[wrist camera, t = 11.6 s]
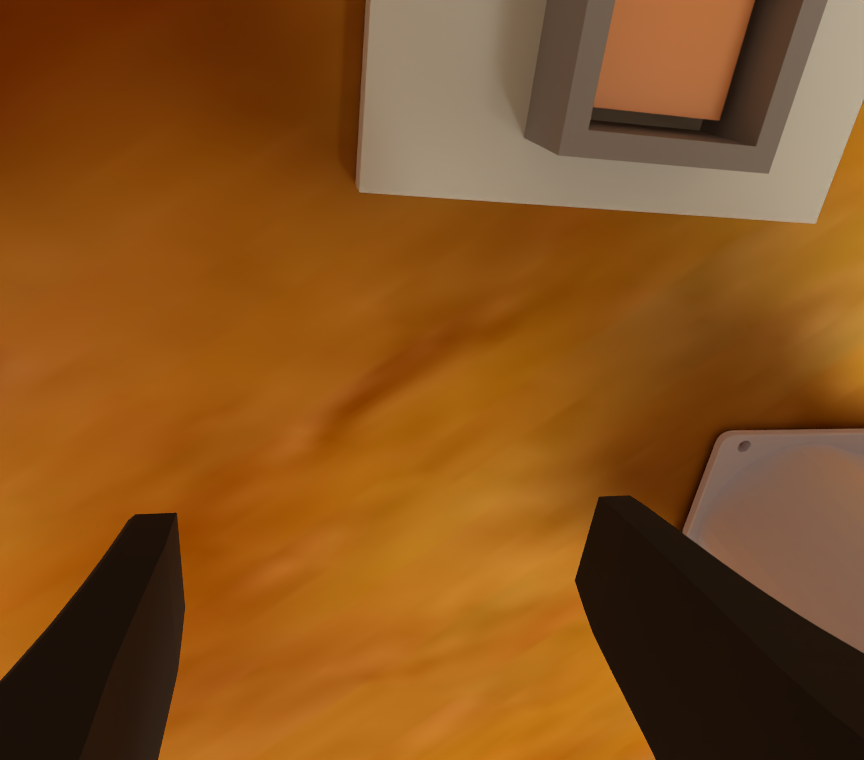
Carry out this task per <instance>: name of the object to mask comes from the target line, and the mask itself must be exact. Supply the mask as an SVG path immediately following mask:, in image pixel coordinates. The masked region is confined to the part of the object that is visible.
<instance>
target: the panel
mask: <svg viewBox="0 0 864 760" xmlns="http://www.w3.org/2000/svg"><path fill="white" fill-rule="evenodd" d="M614 5H615V0H366V6H365V24H364V42H363V59H362V77H361V94H360V112H359V130H358V147H357V165H356V183H355V184H356V186H357V189H358V191H359V192H360V193H375V194H389V195H404V196H418V197H433V198H447V199H462V200H476V201H491V202H505V203H520V204H535V205H549V206H564V207H578V208H593V209H607V210H622V211H636V212H651V213H666V214H680V215H695V216H709V217H724V218H738V219H753V220H767V221H782V222H796V223H811V224H816V221H817V219H818V216H819V214H820V211H821V208H822V206H823V203H824V201H825V198H826V195H827V193H828V190H829V188H830V185H831V182H832V180H833V177H834V175H835V172H836V170H837V167H838V164H839V162H840V159H841V157H842V154H843V151H844V149H845V146H846V144H847V141H848V138H849V136H850V133H851V131H852V128H853V125H854V123H855V120H856V118H857V115H858V112H859V110H860V107H861V105H862V102H863V99H864V0H755V2H754V5H753V9H752V12H751V16H750V19H749V22H748V26H747V29H746V32H745V36H744V39H743V43H742V46H741V49H740V53H739V56H738V60H737V63H736V66H735V70H734V73H733V76H732V80H731V83H730V87H729V90H728V93H727V97H726V100H725V104H724V107H723V110H722V114H721V117H720V120H719V121H717V120H708V119H699V118H689V117H680V116H670V115H661V114H652V113H642V112H633V111H623V110H614V109H605V108H595V107H593V105H594V100H595V95H596V91H597V86H598V81H599V76H600V72H601V67H602V62H603V57H604V53H605V48H606V43H607V38H608V33H609V29H610V24H611V19H612V14H613V10H614Z"/></svg>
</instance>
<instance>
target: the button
mask: <svg viewBox="0 0 864 760" xmlns="http://www.w3.org/2000/svg"><path fill="white" fill-rule="evenodd" d="M754 2H755V0H615V5H614V10H613V14H612V19H611V24H610V29H609V33H608V38H607V43H606V48H605V53H604V57H603V62H602V67H601V72H600V76H599V81H598V86H597V91H596V95H595V100H594V105H593V107H595V108H605V109H614V110H623V111H633V112H642V113H652V114H661V115H670V116H680V117H689V118H699V119H708V120H717V121H719V120H720V117H721V114H722V110H723V107H724V104H725V100H726V97H727V93H728V90H729V87H730V83H731V80H732V76H733V73H734V70H735V66H736V63H737V60H738V56H739V53H740V49H741V46H742V43H743V39H744V36H745V32H746V29H747V26H748V22H749V19H750V16H751V12H752V9H753V5H754Z"/></svg>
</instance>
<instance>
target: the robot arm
mask: <svg viewBox="0 0 864 760" xmlns="http://www.w3.org/2000/svg"><path fill="white" fill-rule="evenodd" d="M742 442H743V443H742ZM740 443H742V444H741V445H739V444H740ZM575 582H576V585H577V589H578V592H579V595H580V598H581V601H582V604H583V607H584V610H585V613H586V615H587V618H588V621H589V623H590V626H591V629H592V632H593V634H594V636H595V638H596V640H597V642H598V645H599V647H600V649H601V651H602V653H603V655H604V657H605V659H606V661H607V663H608V665H609V667H610V669H611V671H612V673H613V675H614V677H615V679H616V681H617V683H618V685H619V687H620V689H621V691H622V693H623V695H624V697H625V699H626V701H627V703H628V705H629V707H630V709H631V711H632V713H633V715H634V717H635V719H636V721H637V723H638V725H639V726H640V728H641V730H642V732H643V734H644V736H645V738H646V740H647V742H648V744H649V746H650V748H651V750H652V752H653V755H654V757H655V759H656V760H864V429H798V430H731V431H726V432H724V433H723V434H721V435H720V436H719V437H718V438H717V440H716V442H715V445H714V447H713V450H712V453H711V455H710V458H709V461H708V464H707V466H706V469H705V472H704V474H703V477H702V480H701V482H700V485H699V488H698V490H697V493H696V496H695V498H694V501H693V504H692V507H691V509H690V512H689V515H688V517H687V520H686V523H685V525H684V528H683V531H682V532H680V531H679V530H678V529H676V528H675V527H674V526H672V525H671V524H670V523H668V522H667V521H666V520H664V519H663V518H661V517H660V516H659V515H657V514H656V513H655V512H653V511H652V510H650V509H649V508H648V507H646V506H645V505H643V504H642V503H640V502H639V501H637V500H636V499H634V498H633V497H631V496H605V497H599V498H598V502H597V505H596V509H595V512H594V516H593V519H592V523H591V526H590V530H589V533H588V537H587V540H586V544H585V547H584V551H583V554H582V558H581V561H580V565H579V568H578V571H577V575H576V578H575ZM184 612H185V602H184V590H183V578H182V567H181V555H180V544H179V532H178V521H177V513H161V514H135V515H134V516H133V517H132V518H131V519H129V520H128V521H127V523H126V524H125V526H124V527H123V529H122V530H121V532H120V533H119V535H118V536H117V538H116V539H115V541H114V542H113V544H112V545H111V546H110V548H109V549H108V551H107V552H106V553H105V555H104V556H103V558H102V559H101V560H100V562H99V563H98V564H97V566H96V567H95V568H94V570H93V571H92V572H91V574H90V575H89V576H88V578H87V579H86V580H85V582H84V583H83V584H82V585H81V587H80V588H79V589H78V590H77V592H76V593H75V594H74V595H73V597H72V598H71V599H70V600H69V602H68V603H67V604H66V605H65V607H64V608H63V609H62V610H61V612H60V613H59V614H58V615H57V617H56V618H55V619H54V620H53V622H52V623H51V624H50V625H49V626H48V628H47V629H46V630H45V631H44V632H43V633H42V635H41V636H40V637H39V638H38V639H37V640H36V641H35V642H34V644H33V645H32V646H31V647H30V648H29V649H28V650H27V651H26V653H25V654H24V655H23V656H22V657H21V658H20V659H19V661H18V662H17V663H16V664H15V665H14V666H13V667H12V668H11V670H10V671H9V672H8V673H7V674H6V675H5V676H4V677H3V678H2V679H1V681H0V760H158V757H159V753H160V748H161V744H162V739H163V735H164V731H165V726H166V722H167V717H168V713H169V708H170V704H171V700H172V695H173V691H174V686H175V682H176V677H177V672H178V666H179V657H180V649H181V640H182V631H183V622H184Z"/></svg>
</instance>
